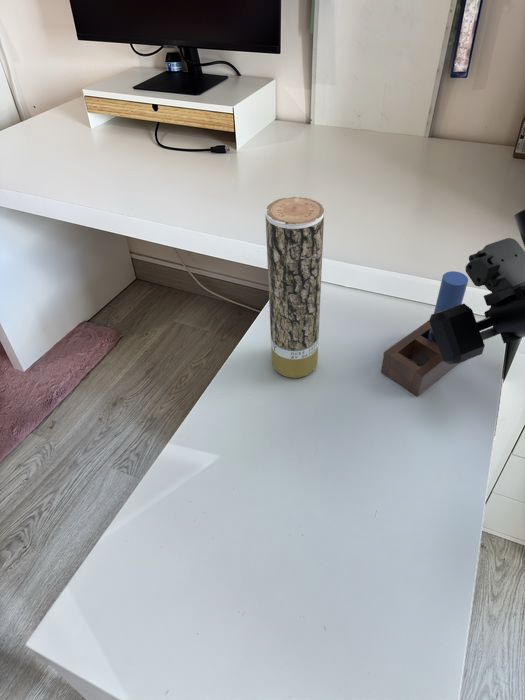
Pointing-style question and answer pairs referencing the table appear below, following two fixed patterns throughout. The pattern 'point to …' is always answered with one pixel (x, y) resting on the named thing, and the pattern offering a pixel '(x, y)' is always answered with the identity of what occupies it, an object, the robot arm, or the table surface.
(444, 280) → the peg
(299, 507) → the table surface
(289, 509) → the table surface
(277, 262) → the paper tube
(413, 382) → the rack
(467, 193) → the table surface
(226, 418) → the table surface
